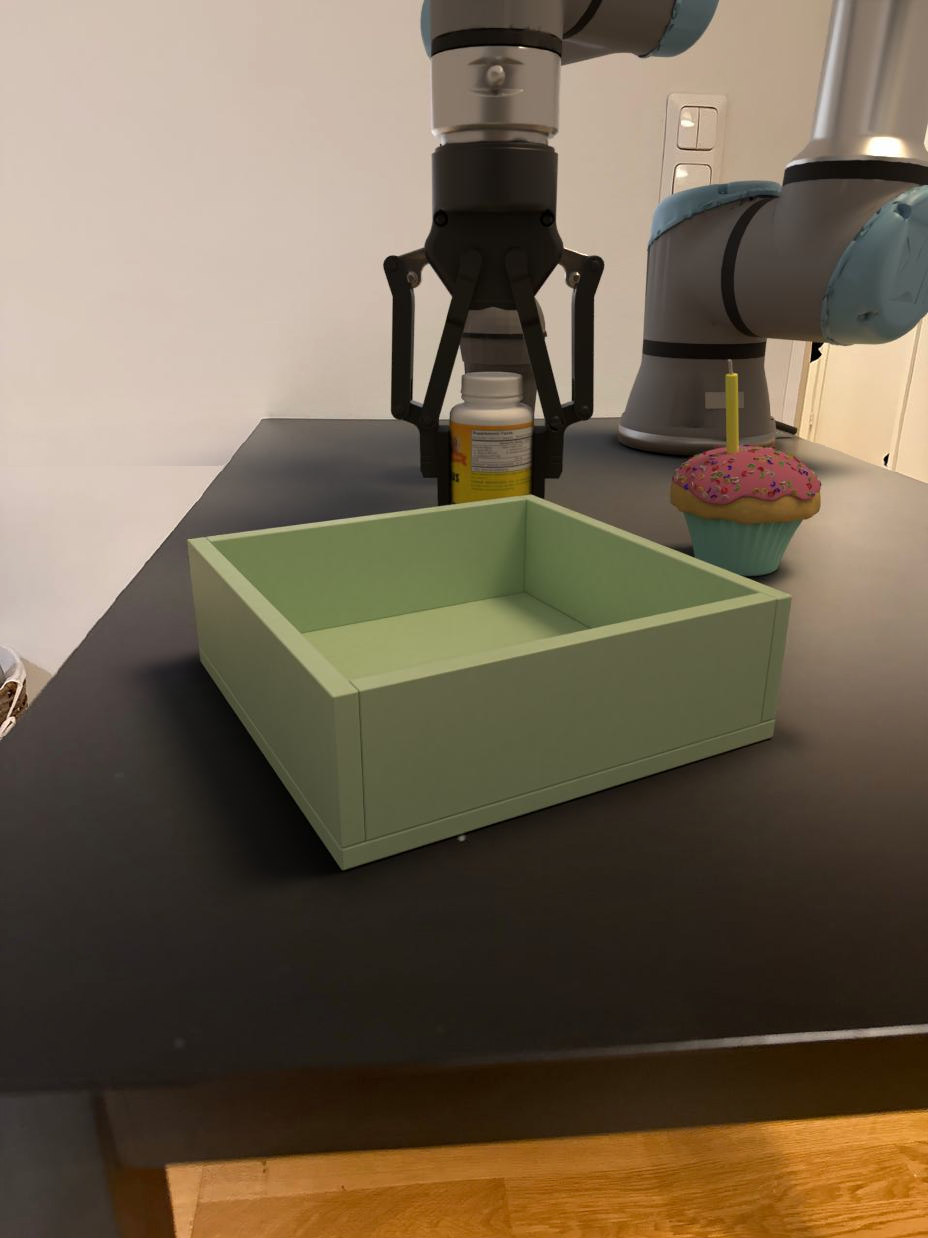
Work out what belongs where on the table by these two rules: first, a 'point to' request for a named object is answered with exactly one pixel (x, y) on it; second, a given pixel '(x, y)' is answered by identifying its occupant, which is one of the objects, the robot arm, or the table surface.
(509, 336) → the beverage cup
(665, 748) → the tote
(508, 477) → the supplement bottle
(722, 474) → the cupcake
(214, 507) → the table surface
